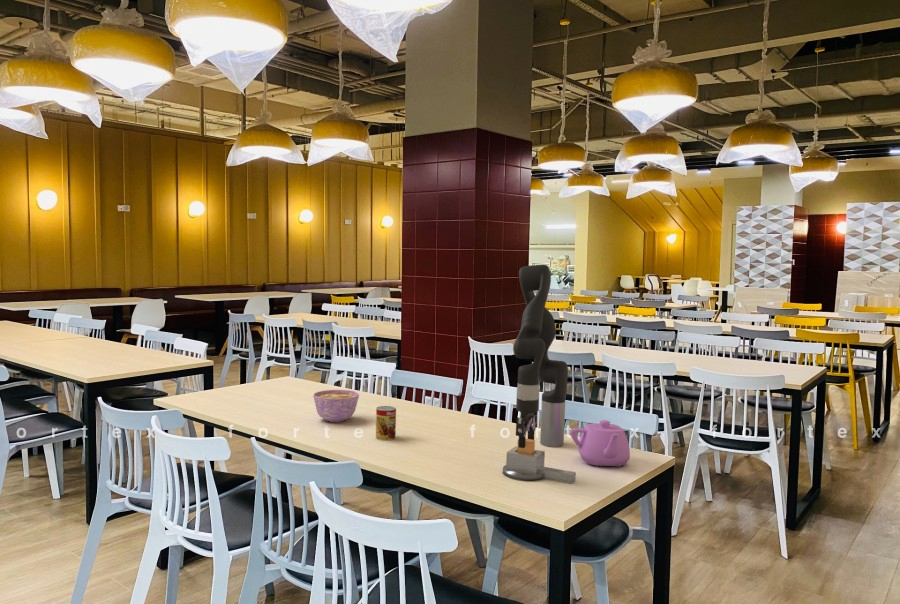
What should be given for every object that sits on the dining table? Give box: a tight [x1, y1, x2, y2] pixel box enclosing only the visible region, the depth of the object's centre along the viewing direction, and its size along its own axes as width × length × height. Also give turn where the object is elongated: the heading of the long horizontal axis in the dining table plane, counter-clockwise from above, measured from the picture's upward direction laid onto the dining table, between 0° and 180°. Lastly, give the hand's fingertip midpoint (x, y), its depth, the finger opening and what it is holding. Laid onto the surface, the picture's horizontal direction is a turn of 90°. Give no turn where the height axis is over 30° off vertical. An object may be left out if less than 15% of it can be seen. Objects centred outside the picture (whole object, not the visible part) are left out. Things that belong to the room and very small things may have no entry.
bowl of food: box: [312, 389, 360, 423], centre depth 283 cm, size 20×20×12 cm
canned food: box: [375, 405, 397, 441], centre depth 257 cm, size 8×8×12 cm
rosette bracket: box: [502, 446, 577, 485], centre depth 214 cm, size 15×24×8 cm, turn 62°
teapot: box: [569, 419, 631, 467], centre depth 229 cm, size 23×21×15 cm
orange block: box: [516, 438, 536, 455], centre depth 216 cm, size 3×5×10 cm, turn 63°
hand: (526, 444), depth 216 cm, fingers open, 8 cm apart
